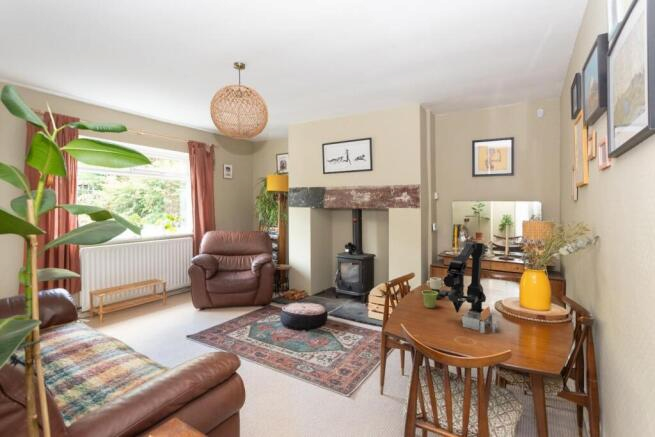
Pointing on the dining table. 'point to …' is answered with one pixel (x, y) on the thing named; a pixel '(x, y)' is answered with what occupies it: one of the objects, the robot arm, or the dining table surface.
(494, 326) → the block
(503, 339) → the dining table surface
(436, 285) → the character mug
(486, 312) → the panel
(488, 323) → the lynch pin
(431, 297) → the plant pot
